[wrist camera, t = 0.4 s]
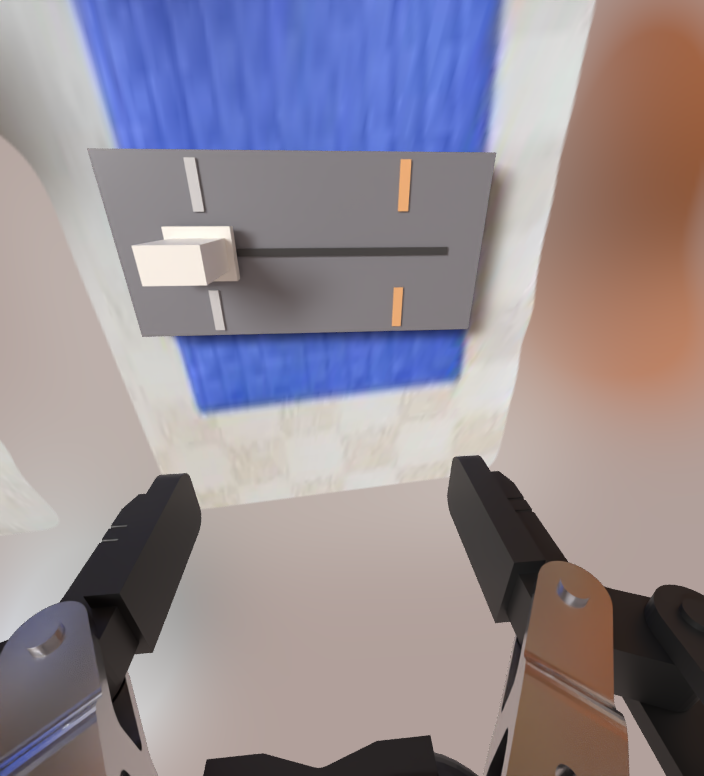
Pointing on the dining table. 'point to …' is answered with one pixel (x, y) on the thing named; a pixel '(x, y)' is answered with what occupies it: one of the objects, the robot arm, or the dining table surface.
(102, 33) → the dining table surface
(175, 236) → the fader tab
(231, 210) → the fader console
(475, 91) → the dining table surface
